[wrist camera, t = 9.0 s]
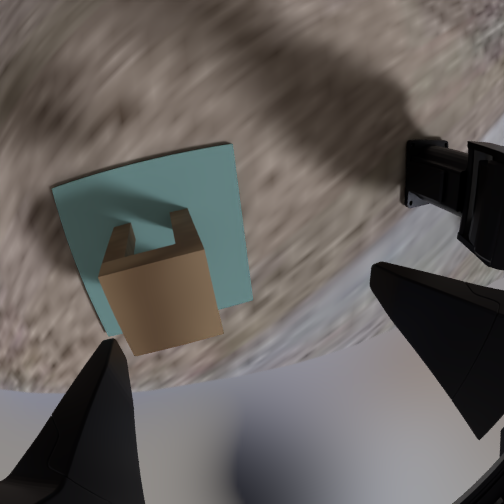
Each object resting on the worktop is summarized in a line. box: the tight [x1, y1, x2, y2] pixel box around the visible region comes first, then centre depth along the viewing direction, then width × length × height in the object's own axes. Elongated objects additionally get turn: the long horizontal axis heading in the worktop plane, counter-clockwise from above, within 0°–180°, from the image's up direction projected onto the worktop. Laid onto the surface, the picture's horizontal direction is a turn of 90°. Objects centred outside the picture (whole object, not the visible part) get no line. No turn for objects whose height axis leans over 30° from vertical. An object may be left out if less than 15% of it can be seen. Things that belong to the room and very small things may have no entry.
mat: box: [52, 144, 253, 336], centre depth 19 cm, size 12×12×1 cm
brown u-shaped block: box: [98, 208, 224, 356], centre depth 16 cm, size 5×5×7 cm
